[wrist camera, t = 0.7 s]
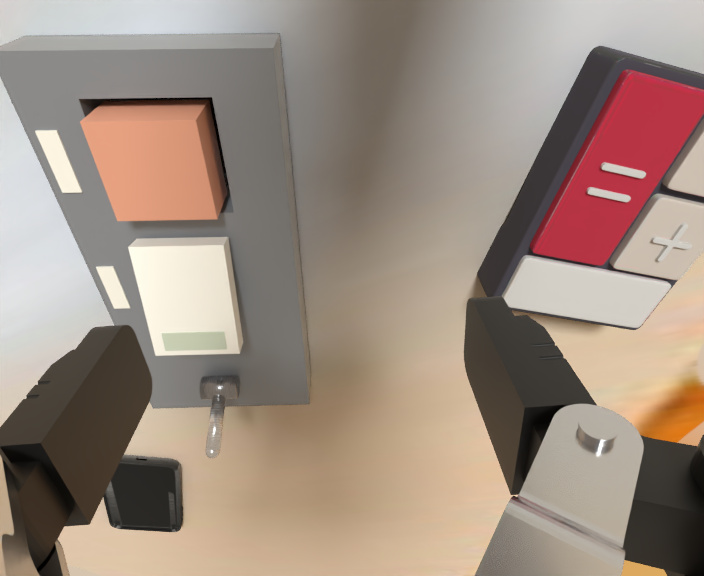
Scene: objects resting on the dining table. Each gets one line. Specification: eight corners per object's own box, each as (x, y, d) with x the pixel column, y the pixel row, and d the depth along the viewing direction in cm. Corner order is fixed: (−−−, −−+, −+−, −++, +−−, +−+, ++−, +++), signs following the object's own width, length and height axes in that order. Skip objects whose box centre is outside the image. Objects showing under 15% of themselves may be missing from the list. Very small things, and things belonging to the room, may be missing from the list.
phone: (110, 528, 53) (94, 459, 44) (114, 518, 54) (98, 449, 45) (181, 532, 54) (180, 466, 45) (184, 522, 55) (182, 456, 46)
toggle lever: (201, 372, 32) (189, 456, 29) (236, 371, 32) (227, 455, 29) (207, 380, 34) (196, 460, 31) (240, 379, 34) (233, 459, 31)
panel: (25, 35, 22) (-20, 54, 19) (279, 33, 22) (271, 51, 19) (163, 377, 38) (150, 415, 35) (310, 373, 38) (309, 410, 35)
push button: (104, 100, 22) (79, 121, 20) (208, 99, 22) (195, 120, 20) (135, 194, 25) (117, 221, 23) (227, 192, 26) (217, 219, 23)
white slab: (136, 238, 25) (127, 247, 24) (228, 236, 25) (223, 245, 24) (162, 344, 29) (154, 356, 27) (243, 342, 29) (239, 354, 28)
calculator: (829, 112, 22) (644, 339, 31) (761, 89, 26) (612, 299, 34) (628, 56, 20) (491, 315, 29) (584, 40, 24) (474, 275, 32)
